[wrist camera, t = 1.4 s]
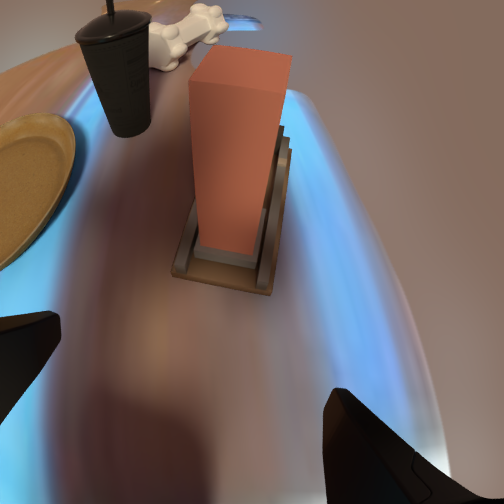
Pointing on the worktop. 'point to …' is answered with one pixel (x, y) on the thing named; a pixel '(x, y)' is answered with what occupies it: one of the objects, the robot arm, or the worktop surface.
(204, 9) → the bone shaped toy
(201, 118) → the post
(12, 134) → the plant saucer
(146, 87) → the drinking cup
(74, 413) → the worktop surface
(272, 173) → the press track
